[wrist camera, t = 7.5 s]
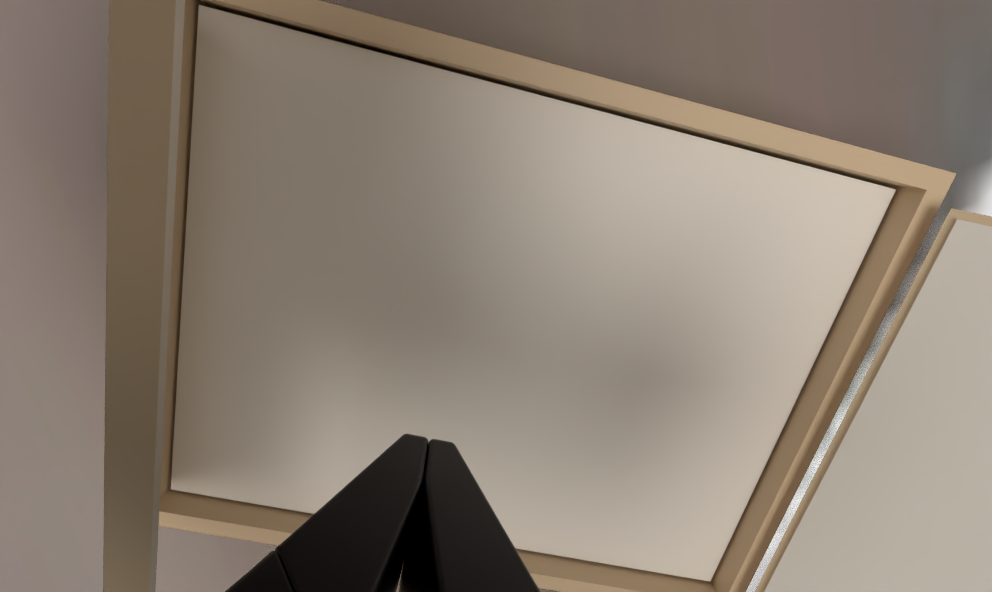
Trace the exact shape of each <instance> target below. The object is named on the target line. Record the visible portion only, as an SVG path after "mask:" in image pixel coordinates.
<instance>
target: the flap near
mask: <svg viewBox="0 0 992 592" xmlns="http://www.w3.org/2000/svg"><path fill="white" fill-rule="evenodd" d="M184 13H185V0H109V74H108V169H107V263H106V358H105V453H104V547H103V592H155V585H156V565H157V546H158V526H159V506H160V486H161V467H162V447H163V427H164V407H165V388H166V368H167V348H168V328H169V309H170V289H171V269H172V249H173V230H174V210H175V190H176V170H177V151H178V131H179V111H180V91H181V72H182V52H183V32H184Z"/></svg>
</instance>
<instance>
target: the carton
mask: <svg viewBox="0 0 992 592" xmlns="http://www.w3.org/2000/svg"><path fill="white" fill-rule="evenodd" d="M955 175H956V173H952V172H948V171H945V170H941V169H937V168H934V167H930V166H926V165H923V164H919V163H915V162H912V161H908V160H904V159H901V158H897V157H893V156H890V155H886V154H882V153H879V152H875V151H871V150H868V149H864V148H860V147H857V146H853V145H849V144H846V143H842V142H838V141H835V140H831V139H827V138H824V137H820V136H816V135H813V134H809V133H805V132H802V131H798V130H794V129H791V128H787V127H783V126H780V125H776V124H772V123H768V122H765V121H761V120H757V119H754V118H750V117H746V116H743V115H739V114H735V113H732V112H728V111H724V110H721V109H717V108H713V107H710V106H706V105H702V104H699V103H695V102H691V101H688V100H684V99H680V98H677V97H673V96H669V95H666V94H662V93H658V92H655V91H651V90H647V89H644V88H640V87H636V86H633V85H629V84H625V83H622V82H618V81H614V80H611V79H607V78H603V77H600V76H596V75H592V74H589V73H585V72H581V71H578V70H574V69H570V68H567V67H563V66H559V65H555V64H552V63H548V62H544V61H541V60H537V59H533V58H530V57H526V56H522V55H519V54H515V53H511V52H508V51H504V50H500V49H497V48H493V47H489V46H486V45H482V44H478V43H475V42H471V41H467V40H464V39H460V38H456V37H453V36H449V35H445V34H442V33H438V32H434V31H431V30H427V29H423V28H420V27H416V26H412V25H409V24H405V23H401V22H398V21H394V20H390V19H387V18H383V17H379V16H376V15H372V14H368V13H365V12H361V11H357V10H354V9H350V8H346V7H342V6H339V5H335V4H331V3H328V2H324V1H320V0H185V13H184V32H183V52H182V72H181V91H180V111H179V131H178V151H177V170H176V190H175V210H174V230H173V249H172V269H171V289H170V309H169V328H168V348H167V368H166V388H165V407H164V427H163V447H162V467H161V486H160V506H159V526H163V527H169V528H175V529H181V530H187V531H193V532H200V533H206V534H212V535H218V536H224V537H230V538H236V539H242V540H248V541H255V542H261V543H267V544H273V545H280V544H281V543H282V542H283V541H284V540H285V539H287V538H288V537H289V536H290V535H291V534H292V533H293V532H294V531H296V530H297V529H298V528H299V527H300V526H301V525H302V524H303V523H305V522H306V521H307V520H308V519H309V518H310V517H311V516H312V515H314V514H315V513H316V512H317V511H318V510H319V509H320V508H321V507H323V506H324V505H325V504H326V503H327V502H328V501H329V500H330V499H332V498H333V497H334V496H335V495H336V494H337V493H338V492H339V491H340V490H342V489H343V488H344V487H345V486H346V485H347V484H348V483H349V482H351V481H352V480H353V479H354V478H355V477H356V476H357V475H358V474H360V473H361V472H362V471H363V470H364V469H365V468H366V467H367V466H369V465H370V464H371V463H372V462H373V461H374V460H375V459H376V458H378V457H379V456H380V455H381V454H382V453H383V452H384V451H385V450H387V449H388V448H389V447H390V446H391V445H392V444H393V443H394V442H396V441H397V440H398V439H399V438H400V437H401V436H402V435H404V434H412V435H417V436H422V437H426V438H427V439H428V443H429V441H430V440H431V439H438V440H443V441H448V442H452V443H454V444H455V445H456V447H457V449H458V450H459V452H460V454H461V456H462V457H463V459H464V461H465V463H466V464H467V466H468V468H469V469H470V471H471V473H472V475H473V476H474V478H475V480H476V481H477V483H478V485H479V487H480V488H481V490H482V492H483V494H484V495H485V497H486V499H487V500H488V502H489V504H490V506H491V507H492V509H493V511H494V513H495V514H496V516H497V518H498V519H499V521H500V523H501V525H502V526H503V528H504V530H505V532H506V533H507V535H508V537H509V538H510V540H511V542H512V544H513V545H514V547H515V549H516V550H517V552H518V554H519V556H520V557H521V559H522V561H523V563H524V564H525V566H526V568H527V569H528V571H529V573H530V575H531V576H532V578H533V580H534V582H535V583H536V585H537V587H538V588H542V589H548V590H554V591H560V592H746V590H747V588H748V586H749V584H750V582H751V580H752V578H753V576H754V574H755V572H756V570H757V568H758V566H759V564H760V562H761V560H762V558H763V556H764V554H765V552H766V550H767V548H768V546H769V544H770V542H771V540H772V538H773V536H774V534H775V532H776V530H777V528H778V526H779V524H780V522H781V521H782V519H783V517H784V515H785V513H786V511H787V509H788V507H789V505H790V503H791V501H792V499H793V497H794V495H795V493H796V491H797V489H798V487H799V485H800V483H801V481H802V479H803V477H804V475H805V473H806V471H807V469H808V467H809V465H810V463H811V461H812V459H813V457H814V455H815V453H816V451H817V449H818V447H819V445H820V443H821V441H822V439H823V437H824V435H825V433H826V431H827V429H828V427H829V425H830V423H831V421H832V419H833V417H834V415H835V413H836V411H837V409H838V407H839V406H840V404H841V402H842V400H843V398H844V396H845V394H846V392H847V390H848V388H849V386H850V384H851V382H852V380H853V378H854V376H855V374H856V372H857V370H858V368H859V366H860V364H861V362H862V360H863V358H864V356H865V354H866V352H867V350H868V348H869V346H870V344H871V342H872V340H873V338H874V336H875V334H876V332H877V330H878V328H879V326H880V324H881V322H882V320H883V318H884V316H885V314H886V312H887V310H888V308H889V306H890V304H891V302H892V300H893V298H894V296H895V294H896V292H897V290H898V289H899V287H900V285H901V283H902V281H903V279H904V277H905V275H906V273H907V271H908V269H909V267H910V265H911V263H912V261H913V259H914V257H915V255H916V253H917V251H918V249H919V247H920V245H921V243H922V241H923V239H924V237H925V235H926V233H927V231H928V229H929V227H930V225H931V223H932V221H933V219H934V217H935V215H936V213H937V211H938V209H939V207H940V205H941V203H942V201H943V199H944V197H945V195H946V193H947V191H948V189H949V187H950V185H951V183H952V181H953V179H954V177H955Z"/></svg>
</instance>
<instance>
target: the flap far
mask: <svg viewBox="0 0 992 592" xmlns="http://www.w3.org/2000/svg"><path fill="white" fill-rule="evenodd" d="M755 592H992V217H990V216H986V215H981V214H976V213H971V212H967V211H962V210H957V209H952V208H951V210H950V212H949V214H948V216H947V217H946V219H945V221H944V223H943V225H942V227H941V229H940V231H939V233H938V235H937V237H936V239H935V241H934V243H933V245H932V247H931V249H930V251H929V253H928V255H927V257H926V259H925V260H924V262H923V264H922V266H921V268H920V270H919V272H918V274H917V276H916V278H915V280H914V282H913V284H912V286H911V288H910V290H909V292H908V294H907V296H906V298H905V300H904V302H903V303H902V305H901V307H900V309H899V311H898V313H897V315H896V317H895V319H894V321H893V323H892V325H891V327H890V329H889V331H888V333H887V335H886V337H885V339H884V341H883V343H882V345H881V346H880V348H879V350H878V352H877V354H876V356H875V358H874V360H873V362H872V364H871V366H870V368H869V370H868V372H867V374H866V376H865V378H864V380H863V382H862V384H861V386H860V388H859V389H858V391H857V393H856V395H855V397H854V399H853V401H852V403H851V405H850V407H849V409H848V411H847V413H846V415H845V417H844V419H843V421H842V423H841V425H840V427H839V429H838V431H837V432H836V434H835V436H834V438H833V440H832V442H831V444H830V446H829V448H828V450H827V452H826V454H825V456H824V458H823V460H822V462H821V464H820V466H819V468H818V470H817V472H816V474H815V475H814V477H813V479H812V481H811V483H810V485H809V487H808V489H807V491H806V493H805V495H804V497H803V499H802V501H801V503H800V505H799V507H798V509H797V511H796V513H795V515H794V517H793V519H792V520H791V522H790V524H789V526H788V528H787V530H786V532H785V534H784V536H783V538H782V540H781V542H780V544H779V546H778V548H777V550H776V552H775V554H774V556H773V558H772V560H771V562H770V563H769V565H768V567H767V569H766V571H765V573H764V575H763V577H762V579H761V581H760V583H759V585H758V587H757V589H756V591H755Z"/></svg>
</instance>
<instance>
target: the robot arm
mask: <svg viewBox="0 0 992 592" xmlns="http://www.w3.org/2000/svg"><path fill="white" fill-rule="evenodd" d="M402 566H403V567H402ZM401 570H402V573H401ZM400 574H401V579H400ZM399 579H400V588H399V592H540V590H539V588H538V587H537V585H536V583H535V582H534V580H533V578H532V576H531V575H530V573H529V571H528V569H527V568H526V566H525V564H524V563H523V561H522V559H521V557H520V556H519V554H518V552H517V550H516V549H515V547H514V545H513V544H512V542H511V540H510V538H509V537H508V535H507V533H506V532H505V530H504V528H503V526H502V525H501V523H500V521H499V519H498V518H497V516H496V514H495V513H494V511H493V509H492V507H491V506H490V504H489V502H488V500H487V499H486V497H485V495H484V494H483V492H482V490H481V488H480V487H479V485H478V483H477V481H476V480H475V478H474V476H473V475H472V473H471V471H470V469H469V468H468V466H467V464H466V463H465V461H464V459H463V457H462V456H461V454H460V452H459V450H458V449H457V447H456V445H455V444H454V443H452V442H448V441H443V440H438V439H431V440H430V441H429V443H428V439H427V438H426V437H422V436H417V435H412V434H404V435H402V436H401V437H400V438H399V439H398V440H397V441H396V442H394V443H393V444H392V445H391V446H390V447H389V448H388V449H387V450H385V451H384V452H383V453H382V454H381V455H380V456H379V457H378V458H376V459H375V460H374V461H373V462H372V463H371V464H370V465H369V466H367V467H366V468H365V469H364V470H363V471H362V472H361V473H360V474H358V475H357V476H356V477H355V478H354V479H353V480H352V481H351V482H349V483H348V484H347V485H346V486H345V487H344V488H343V489H342V490H340V491H339V492H338V493H337V494H336V495H335V496H334V497H333V498H332V499H330V500H329V501H328V502H327V503H326V504H325V505H324V506H323V507H321V508H320V509H319V510H318V511H317V512H316V513H315V514H314V515H312V516H311V517H310V518H309V519H308V520H307V521H306V522H305V523H303V524H302V525H301V526H300V527H299V528H298V529H297V530H296V531H294V532H293V533H292V534H291V535H290V536H289V537H288V538H287V539H285V540H284V541H283V542H282V543H281V544H280V545H279V546H278V547H277V548H276V549H275V551H272V552H270V553H269V554H268V555H267V556H266V557H265V558H264V559H263V560H261V561H260V562H259V563H258V564H257V565H256V566H255V567H254V568H253V569H251V570H250V571H249V572H248V573H247V574H246V575H244V576H243V577H242V578H241V579H240V580H238V581H237V582H236V583H235V584H234V585H232V586H231V587H230V588H229V589H228V590H226V591H225V592H396V589H397V586H398V582H399Z"/></svg>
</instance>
